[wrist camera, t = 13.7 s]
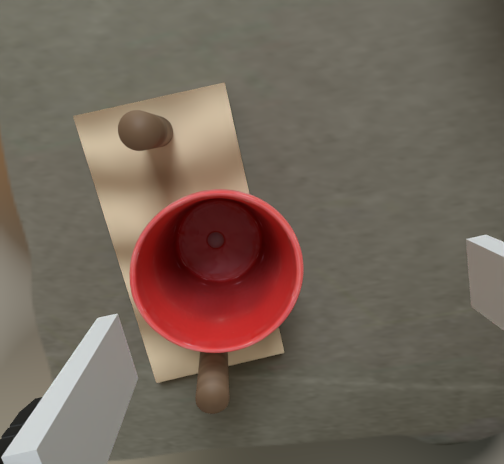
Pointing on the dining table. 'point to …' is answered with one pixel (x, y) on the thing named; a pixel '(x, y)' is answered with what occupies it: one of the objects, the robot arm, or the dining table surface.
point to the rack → (168, 202)
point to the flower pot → (216, 271)
